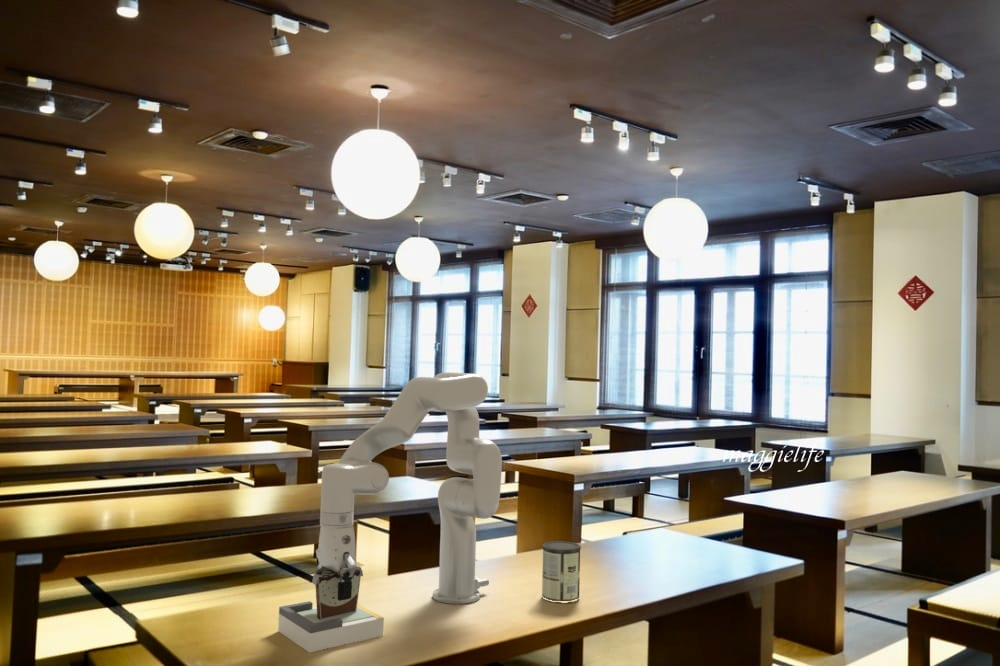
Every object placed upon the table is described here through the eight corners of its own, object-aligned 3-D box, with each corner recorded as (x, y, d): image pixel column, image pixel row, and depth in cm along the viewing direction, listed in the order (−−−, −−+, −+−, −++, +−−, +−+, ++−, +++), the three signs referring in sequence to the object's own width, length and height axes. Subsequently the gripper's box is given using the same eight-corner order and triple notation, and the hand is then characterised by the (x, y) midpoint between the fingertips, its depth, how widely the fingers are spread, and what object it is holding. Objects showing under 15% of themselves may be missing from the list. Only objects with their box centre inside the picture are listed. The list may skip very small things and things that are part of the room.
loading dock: (348, 616, 188) (349, 593, 188) (383, 635, 176) (383, 611, 176) (278, 631, 176) (279, 606, 177) (309, 652, 164) (310, 626, 164)
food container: (347, 604, 184) (349, 561, 185) (361, 610, 180) (363, 567, 180) (300, 614, 176) (302, 569, 176) (314, 621, 171) (316, 575, 172)
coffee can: (553, 590, 216) (554, 539, 216) (586, 597, 210) (587, 544, 210) (534, 598, 207) (535, 545, 208) (568, 606, 201) (569, 551, 202)
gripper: (370, 523, 173) (367, 600, 172) (333, 510, 186) (331, 582, 186) (340, 527, 168) (337, 606, 168) (304, 513, 182) (302, 587, 181)
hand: (334, 594), depth 177 cm, fingers open, 9 cm apart
